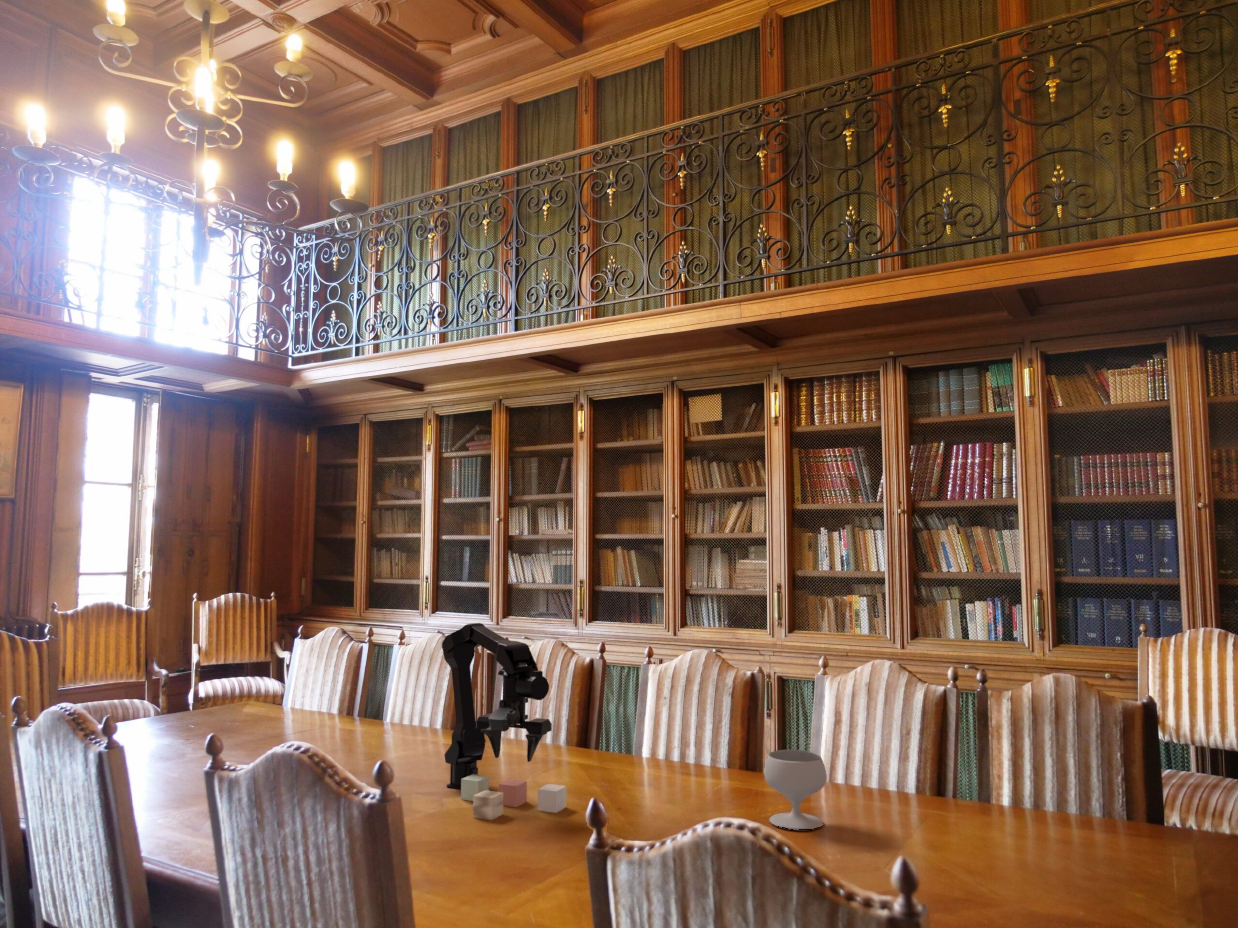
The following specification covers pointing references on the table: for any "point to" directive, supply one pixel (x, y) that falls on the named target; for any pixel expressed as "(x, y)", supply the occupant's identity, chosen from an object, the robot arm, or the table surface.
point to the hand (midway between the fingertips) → (513, 759)
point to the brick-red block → (513, 792)
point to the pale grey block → (552, 798)
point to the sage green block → (473, 786)
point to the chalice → (795, 784)
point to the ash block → (488, 805)
